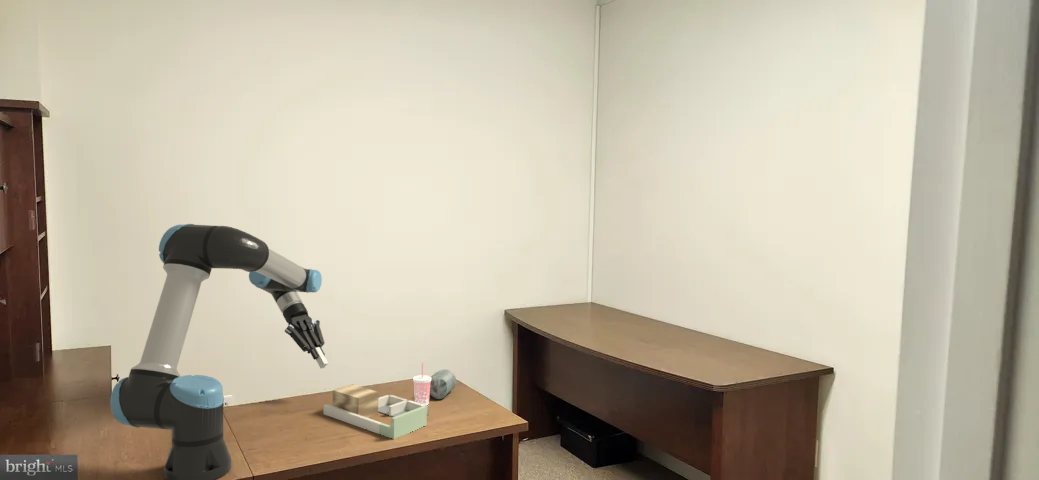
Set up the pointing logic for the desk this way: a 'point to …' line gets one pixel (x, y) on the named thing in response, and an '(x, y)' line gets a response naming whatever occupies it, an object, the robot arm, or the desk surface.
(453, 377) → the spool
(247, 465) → the desk surface
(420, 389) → the beverage cup
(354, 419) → the tray
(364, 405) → the maple block
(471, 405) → the desk surface
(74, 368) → the desk surface
